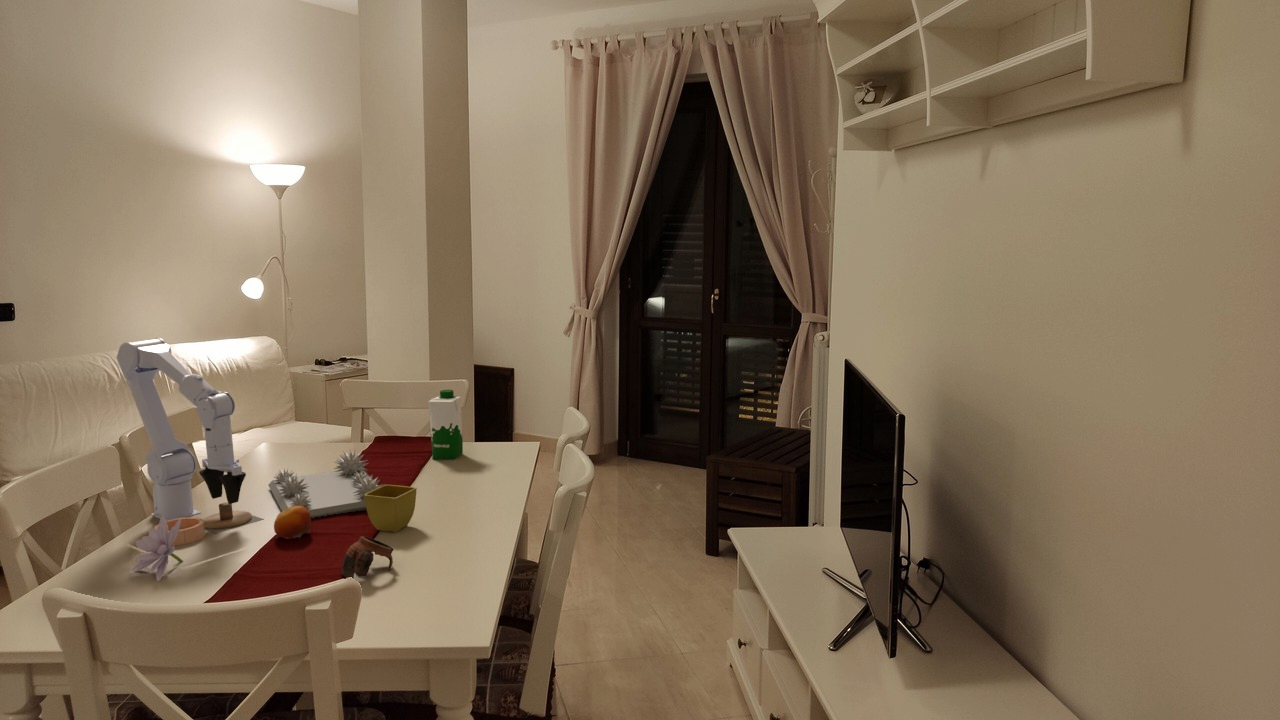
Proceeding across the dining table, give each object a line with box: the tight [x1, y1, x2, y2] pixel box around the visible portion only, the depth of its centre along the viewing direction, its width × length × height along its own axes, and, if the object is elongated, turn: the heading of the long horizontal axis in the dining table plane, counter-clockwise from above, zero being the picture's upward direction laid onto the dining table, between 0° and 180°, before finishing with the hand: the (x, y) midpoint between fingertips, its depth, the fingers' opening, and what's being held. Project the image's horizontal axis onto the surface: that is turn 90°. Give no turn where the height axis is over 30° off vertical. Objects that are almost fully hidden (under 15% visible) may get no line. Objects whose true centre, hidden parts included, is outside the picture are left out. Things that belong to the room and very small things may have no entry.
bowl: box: [153, 516, 206, 547], centre depth 201 cm, size 10×10×4 cm
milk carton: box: [427, 389, 464, 461], centre depth 268 cm, size 9×9×20 cm
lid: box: [203, 501, 253, 529], centre depth 212 cm, size 11×11×4 cm
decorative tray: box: [268, 449, 383, 519], centre depth 230 cm, size 35×26×10 cm
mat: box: [205, 514, 265, 535], centre depth 212 cm, size 12×12×1 cm
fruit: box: [273, 506, 312, 539], centre depth 202 cm, size 8×8×8 cm
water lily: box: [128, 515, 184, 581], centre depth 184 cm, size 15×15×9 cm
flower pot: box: [364, 484, 417, 533], centre depth 205 cm, size 9×9×9 cm
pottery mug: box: [341, 535, 394, 579], centre depth 178 cm, size 12×10×8 cm
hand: (225, 500), depth 211 cm, fingers open, 7 cm apart
